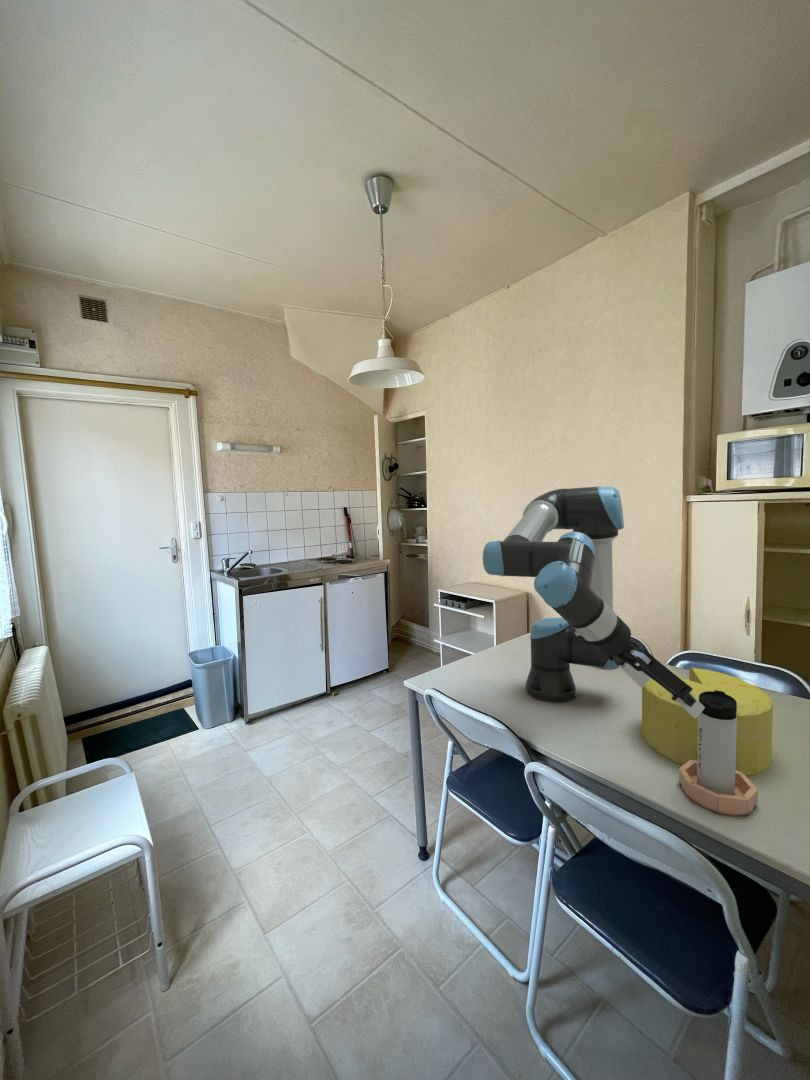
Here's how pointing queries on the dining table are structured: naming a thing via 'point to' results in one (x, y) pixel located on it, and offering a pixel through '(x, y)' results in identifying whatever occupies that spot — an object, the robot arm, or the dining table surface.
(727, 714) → the travel mug
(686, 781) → the bowl
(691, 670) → the cheese
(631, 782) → the dining table surface
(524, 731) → the dining table surface
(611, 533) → the robot arm
